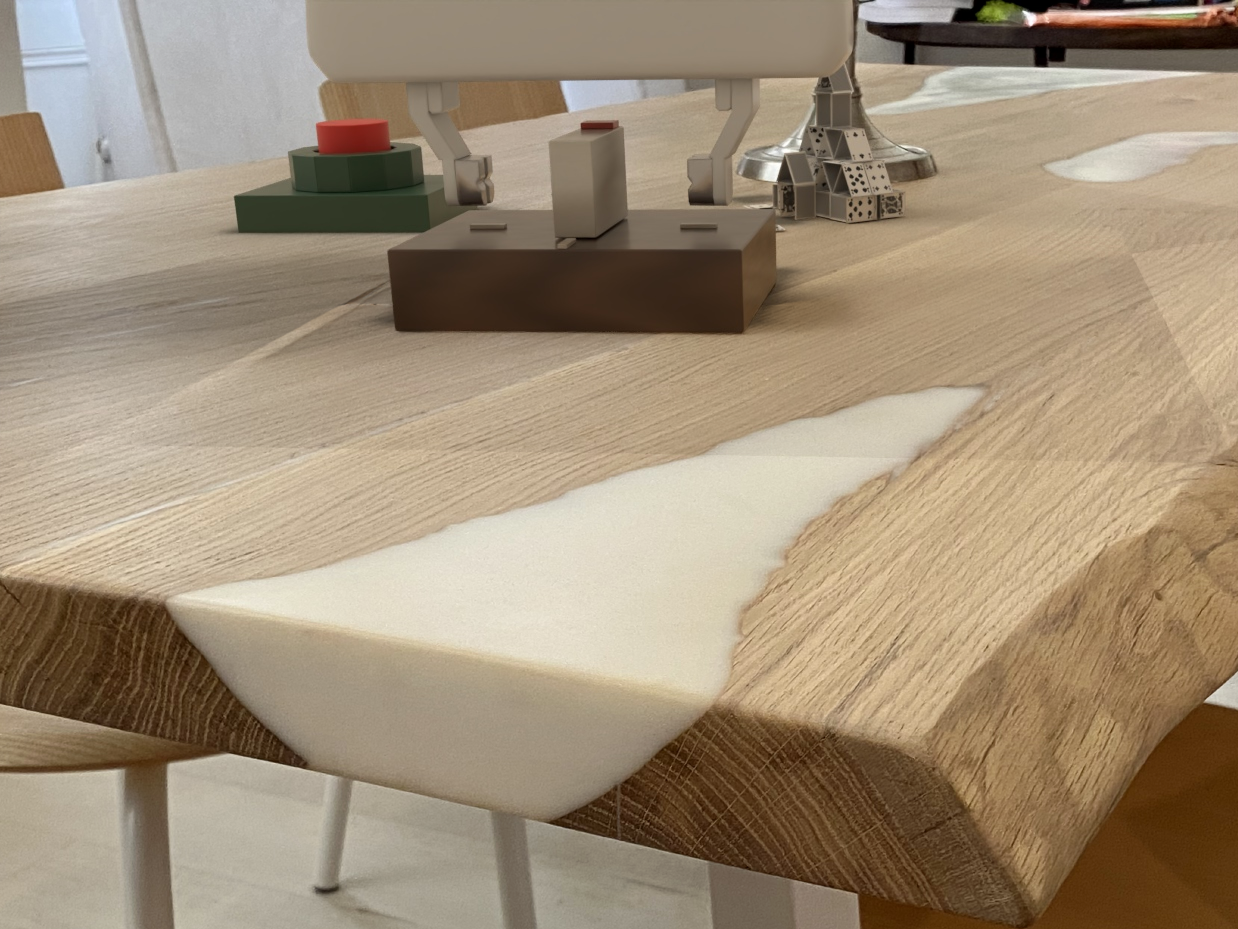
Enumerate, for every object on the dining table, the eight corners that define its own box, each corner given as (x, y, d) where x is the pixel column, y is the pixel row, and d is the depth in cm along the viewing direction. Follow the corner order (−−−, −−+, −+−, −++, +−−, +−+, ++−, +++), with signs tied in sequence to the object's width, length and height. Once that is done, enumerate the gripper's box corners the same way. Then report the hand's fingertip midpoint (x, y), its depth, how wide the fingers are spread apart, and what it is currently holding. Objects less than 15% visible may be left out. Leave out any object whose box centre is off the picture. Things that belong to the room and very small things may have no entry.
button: (308, 161, 81) (304, 125, 81) (335, 153, 85) (331, 119, 84) (377, 160, 81) (373, 124, 80) (401, 152, 84) (397, 118, 84)
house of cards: (677, 213, 86) (671, 63, 84) (813, 198, 91) (812, 55, 88) (766, 233, 79) (763, 69, 76) (909, 216, 83) (911, 61, 81)
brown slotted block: (394, 331, 59) (385, 245, 58) (473, 281, 69) (467, 206, 68) (743, 333, 58) (741, 244, 57) (777, 282, 67) (775, 204, 66)
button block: (239, 240, 81) (228, 158, 80) (301, 216, 88) (292, 141, 87) (431, 239, 80) (423, 156, 78) (478, 215, 87) (472, 139, 86)
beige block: (596, 238, 60) (590, 133, 58) (554, 237, 60) (547, 134, 58) (628, 216, 65) (623, 119, 63) (589, 216, 65) (583, 120, 64)
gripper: (251, -190, 56) (299, 216, 60) (844, -211, 53) (844, 216, 58) (321, -176, 61) (359, 193, 66) (858, -194, 59) (857, 192, 64)
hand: (589, 204), depth 62 cm, fingers open, 8 cm apart
